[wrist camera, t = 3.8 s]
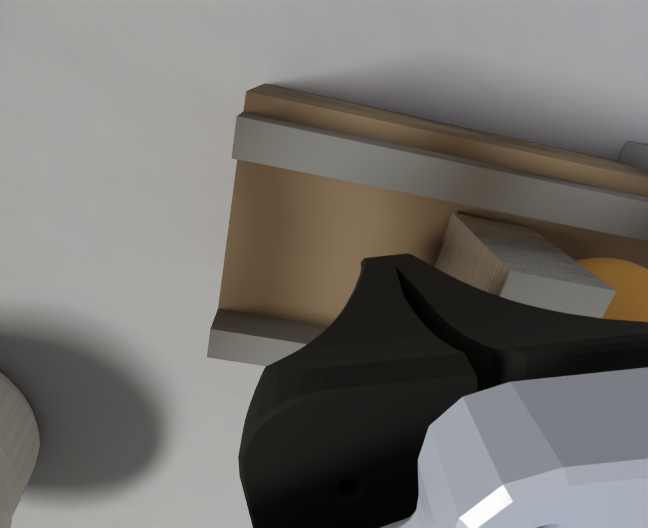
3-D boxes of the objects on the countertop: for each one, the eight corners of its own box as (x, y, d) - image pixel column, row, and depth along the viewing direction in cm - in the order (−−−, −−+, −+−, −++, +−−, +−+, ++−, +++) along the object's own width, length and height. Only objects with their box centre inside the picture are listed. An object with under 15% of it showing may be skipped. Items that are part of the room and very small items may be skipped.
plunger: (530, 227, 13) (616, 290, 9) (483, 341, 15) (541, 433, 11) (452, 212, 13) (509, 271, 9) (412, 329, 14) (449, 419, 11)
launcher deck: (617, 161, 18) (763, 207, 12) (537, 331, 21) (623, 431, 15) (264, 83, 16) (239, 94, 10) (235, 280, 19) (205, 370, 14)
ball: (523, 228, 13) (625, 241, 14) (475, 345, 14) (571, 346, 16) (646, 300, 9) (768, 308, 11) (566, 442, 11) (680, 434, 12)
